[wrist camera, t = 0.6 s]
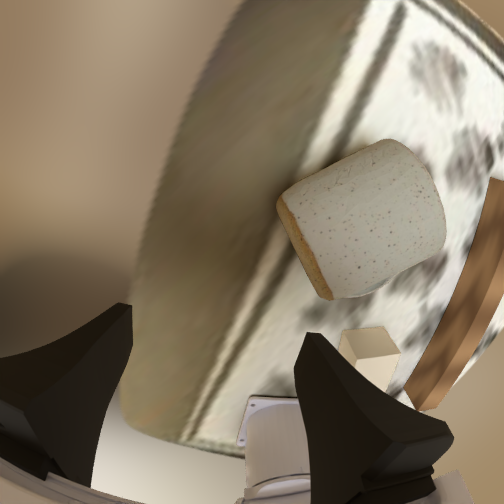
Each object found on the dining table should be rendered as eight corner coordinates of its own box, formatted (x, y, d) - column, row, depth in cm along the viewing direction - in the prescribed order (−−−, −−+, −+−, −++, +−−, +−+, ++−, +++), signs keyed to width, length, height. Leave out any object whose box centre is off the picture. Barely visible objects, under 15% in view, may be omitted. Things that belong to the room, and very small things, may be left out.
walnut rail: (421, 385, 28) (435, 408, 24) (403, 387, 28) (416, 411, 24) (506, 186, 19) (535, 196, 16) (490, 177, 19) (520, 186, 15)
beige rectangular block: (367, 373, 26) (380, 401, 23) (330, 377, 26) (341, 408, 22) (382, 325, 24) (401, 353, 20) (342, 329, 24) (357, 359, 20)
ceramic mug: (261, 188, 19) (277, 221, 12) (365, 134, 18) (431, 140, 11) (324, 305, 23) (356, 372, 16) (409, 257, 22) (464, 305, 15)
